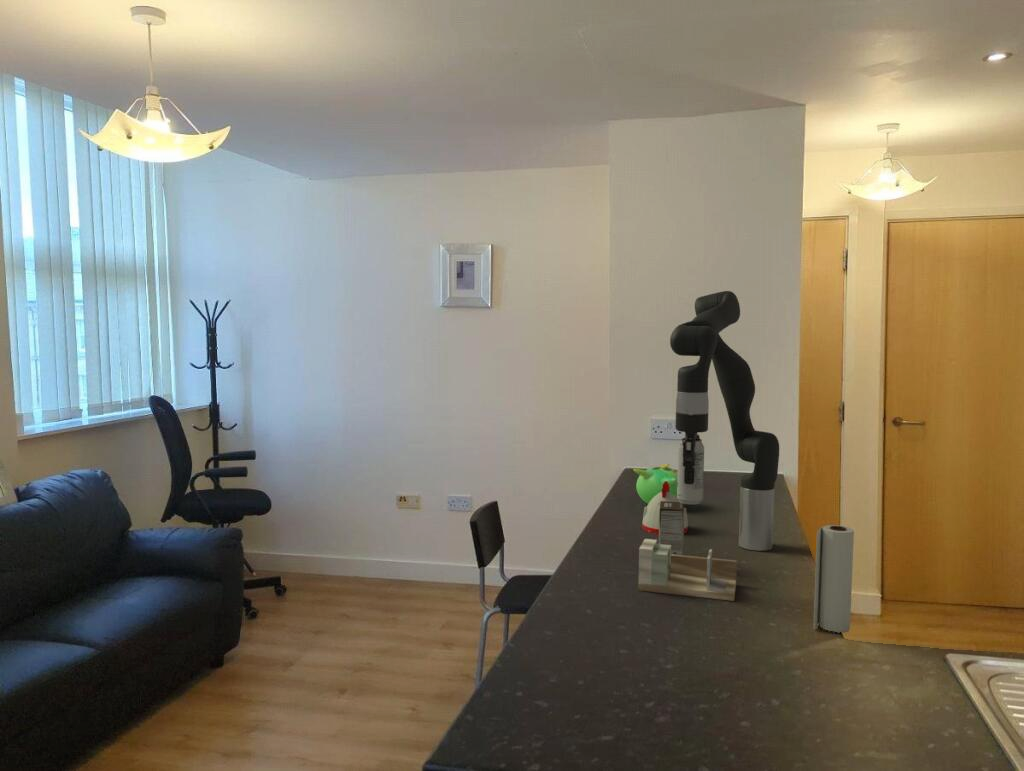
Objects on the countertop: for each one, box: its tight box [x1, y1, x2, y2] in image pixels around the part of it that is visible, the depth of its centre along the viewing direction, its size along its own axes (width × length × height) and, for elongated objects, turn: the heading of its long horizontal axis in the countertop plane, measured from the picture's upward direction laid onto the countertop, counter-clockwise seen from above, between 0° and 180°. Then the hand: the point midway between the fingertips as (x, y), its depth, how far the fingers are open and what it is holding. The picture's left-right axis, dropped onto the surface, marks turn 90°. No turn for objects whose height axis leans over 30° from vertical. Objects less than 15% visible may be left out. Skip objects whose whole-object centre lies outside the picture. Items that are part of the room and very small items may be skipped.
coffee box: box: [658, 501, 685, 555], centre depth 206 cm, size 9×6×16 cm
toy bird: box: [632, 463, 678, 505], centre depth 272 cm, size 18×17×15 cm
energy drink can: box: [677, 438, 705, 505], centre depth 185 cm, size 6×6×15 cm
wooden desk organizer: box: [637, 538, 738, 602], centre depth 188 cm, size 12×22×10 cm, turn 72°
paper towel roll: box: [812, 524, 855, 634], centre depth 163 cm, size 7×6×21 cm
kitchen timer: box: [641, 481, 689, 535], centre depth 242 cm, size 14×14×15 cm
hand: (690, 480), depth 185 cm, fingers closed on energy drink can, 6 cm apart
